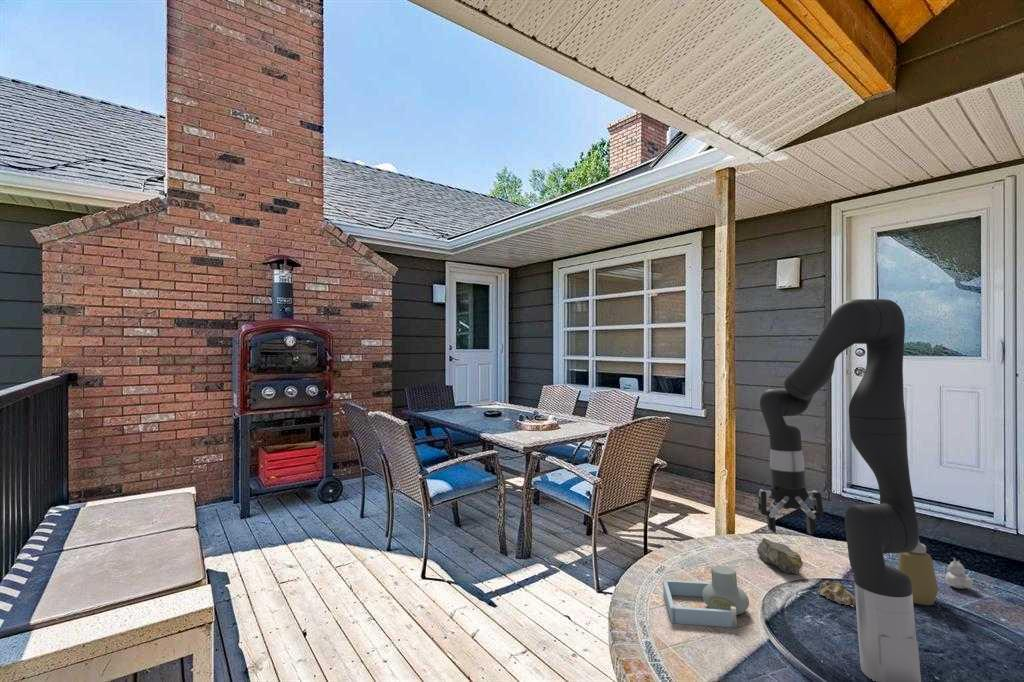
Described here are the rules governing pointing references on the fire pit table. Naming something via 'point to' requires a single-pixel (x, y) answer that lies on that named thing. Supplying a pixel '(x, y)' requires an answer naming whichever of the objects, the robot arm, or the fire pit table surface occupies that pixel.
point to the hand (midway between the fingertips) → (791, 532)
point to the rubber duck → (958, 576)
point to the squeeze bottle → (920, 574)
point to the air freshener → (725, 591)
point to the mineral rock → (836, 593)
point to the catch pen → (695, 614)
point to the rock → (779, 556)
